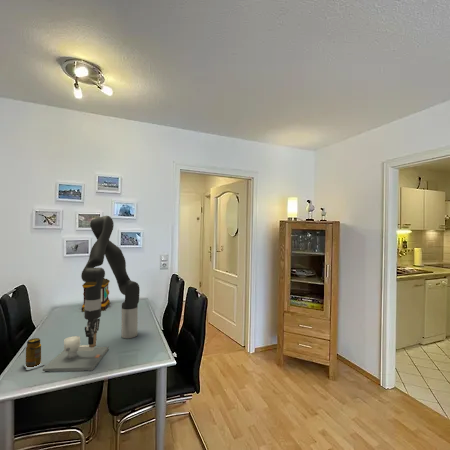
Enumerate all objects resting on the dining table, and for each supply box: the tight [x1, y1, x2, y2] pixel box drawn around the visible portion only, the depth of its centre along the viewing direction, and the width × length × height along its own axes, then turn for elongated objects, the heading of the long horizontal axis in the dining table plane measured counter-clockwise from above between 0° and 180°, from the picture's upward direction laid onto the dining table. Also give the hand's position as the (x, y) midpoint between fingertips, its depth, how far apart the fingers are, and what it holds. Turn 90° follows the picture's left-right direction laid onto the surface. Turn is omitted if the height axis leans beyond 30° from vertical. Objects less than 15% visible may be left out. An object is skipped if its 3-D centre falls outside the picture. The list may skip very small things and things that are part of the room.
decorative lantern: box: [81, 277, 111, 312], centre depth 227 cm, size 20×20×30 cm
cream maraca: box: [63, 333, 97, 352], centre depth 139 cm, size 15×9×8 cm, turn 91°
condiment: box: [25, 337, 42, 367], centre depth 133 cm, size 7×8×12 cm
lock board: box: [42, 346, 109, 372], centre depth 139 cm, size 22×22×5 cm
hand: (92, 342), depth 139 cm, fingers closed on cream maraca, 3 cm apart
